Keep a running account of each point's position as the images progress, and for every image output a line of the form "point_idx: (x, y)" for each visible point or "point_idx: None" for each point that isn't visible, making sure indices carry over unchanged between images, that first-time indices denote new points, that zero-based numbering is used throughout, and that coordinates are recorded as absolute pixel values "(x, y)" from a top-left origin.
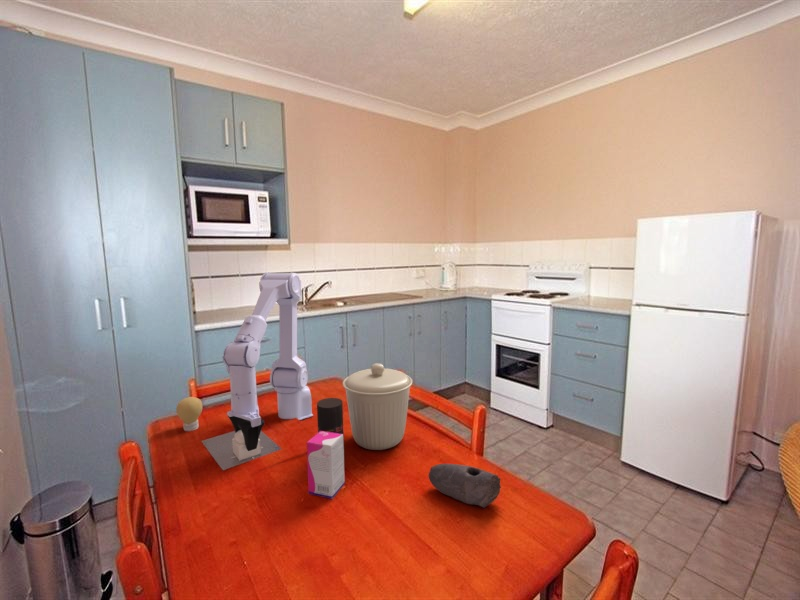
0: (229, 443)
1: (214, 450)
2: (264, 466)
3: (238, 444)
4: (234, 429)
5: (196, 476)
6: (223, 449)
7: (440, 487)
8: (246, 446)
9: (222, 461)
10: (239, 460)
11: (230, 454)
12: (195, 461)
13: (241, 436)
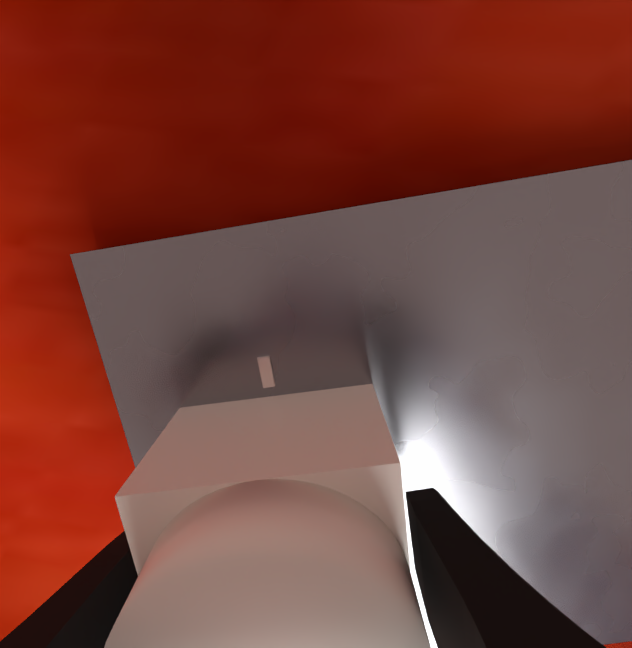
0: (573, 381)
1: (523, 231)
2: (91, 529)
3: (180, 503)
4: (522, 583)
5: (189, 25)
6: (486, 314)
7: None
8: (88, 567)
9: (242, 272)
10: (183, 406)
11: (341, 356)
12: (493, 42)
13: (171, 631)
